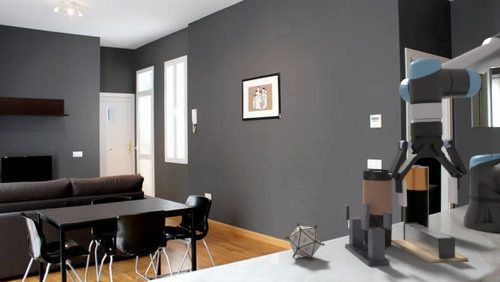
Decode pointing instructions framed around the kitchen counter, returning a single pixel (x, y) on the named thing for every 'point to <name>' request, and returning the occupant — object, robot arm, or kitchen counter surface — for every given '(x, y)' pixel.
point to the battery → (417, 196)
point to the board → (424, 254)
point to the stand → (376, 237)
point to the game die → (305, 241)
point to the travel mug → (378, 200)
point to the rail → (429, 240)
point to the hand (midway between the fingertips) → (428, 204)
